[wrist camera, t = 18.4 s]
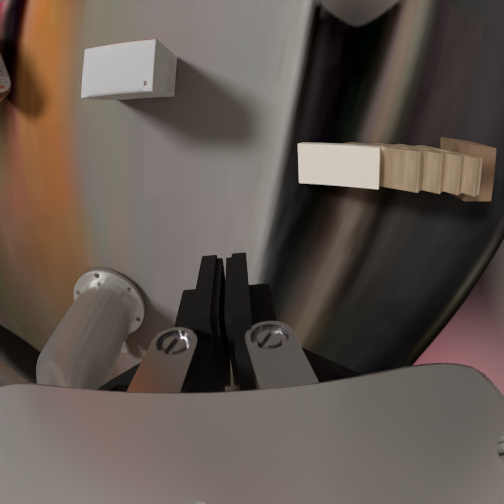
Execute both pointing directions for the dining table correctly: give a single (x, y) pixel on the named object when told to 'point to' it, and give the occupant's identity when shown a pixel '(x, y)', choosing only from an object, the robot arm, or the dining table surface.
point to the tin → (4, 80)
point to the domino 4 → (450, 171)
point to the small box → (129, 71)
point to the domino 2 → (399, 167)
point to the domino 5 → (468, 172)
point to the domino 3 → (429, 169)
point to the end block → (487, 165)
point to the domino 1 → (339, 164)
